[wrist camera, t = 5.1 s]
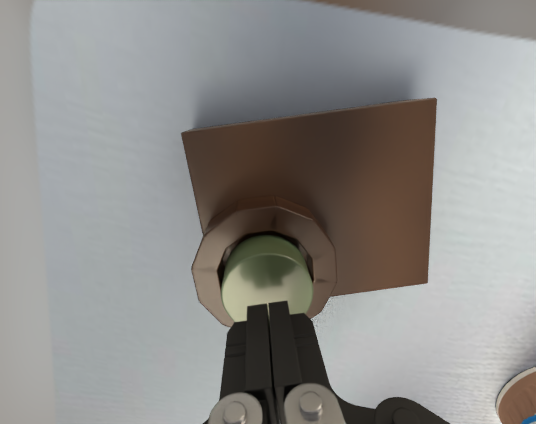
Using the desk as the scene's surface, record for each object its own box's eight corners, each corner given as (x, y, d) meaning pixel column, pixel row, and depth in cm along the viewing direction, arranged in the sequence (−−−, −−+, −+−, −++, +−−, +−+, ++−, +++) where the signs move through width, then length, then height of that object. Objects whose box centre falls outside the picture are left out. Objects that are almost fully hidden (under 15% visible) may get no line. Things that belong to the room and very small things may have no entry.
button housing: (218, 293, 20) (208, 343, 16) (183, 130, 16) (159, 137, 12) (405, 267, 20) (446, 310, 16) (409, 99, 16) (463, 95, 12)
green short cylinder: (232, 310, 16) (229, 339, 14) (218, 240, 14) (212, 260, 12) (309, 300, 16) (317, 327, 14) (302, 228, 14) (309, 247, 12)
